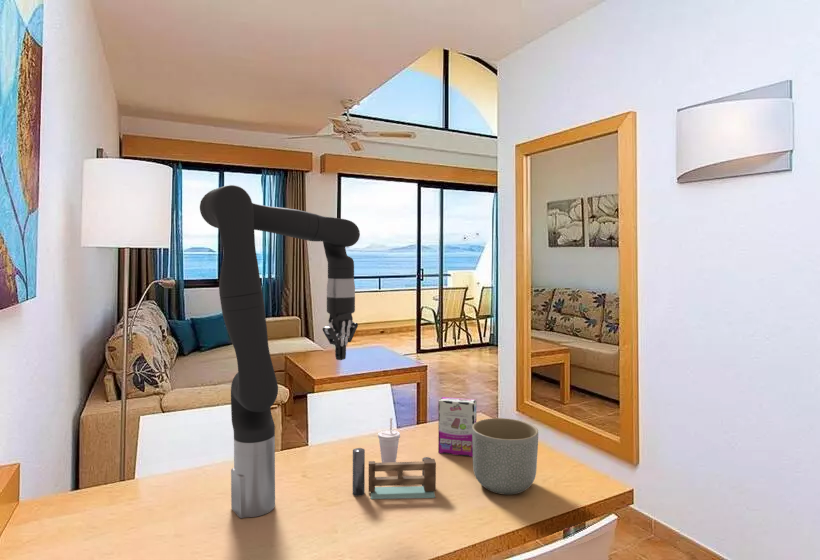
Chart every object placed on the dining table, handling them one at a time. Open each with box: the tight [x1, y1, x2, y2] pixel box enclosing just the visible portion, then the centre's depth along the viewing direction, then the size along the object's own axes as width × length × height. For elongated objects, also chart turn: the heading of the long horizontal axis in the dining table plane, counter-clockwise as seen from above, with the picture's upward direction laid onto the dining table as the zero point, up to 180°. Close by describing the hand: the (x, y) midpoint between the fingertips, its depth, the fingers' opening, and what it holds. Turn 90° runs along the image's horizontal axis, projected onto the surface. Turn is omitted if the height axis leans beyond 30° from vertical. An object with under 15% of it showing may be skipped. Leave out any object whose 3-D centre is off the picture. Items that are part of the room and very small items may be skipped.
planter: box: [472, 417, 539, 496], centre depth 131 cm, size 17×17×15 cm
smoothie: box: [377, 417, 401, 463], centre depth 142 cm, size 6×6×14 cm
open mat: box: [370, 485, 436, 500], centre depth 127 cm, size 16×6×1 cm, turn 93°
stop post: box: [421, 456, 432, 486], centre depth 131 cm, size 2×2×7 cm
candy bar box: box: [437, 396, 478, 458], centre depth 153 cm, size 11×5×16 cm, turn 73°
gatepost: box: [352, 447, 366, 497], centre depth 126 cm, size 3×3×11 cm
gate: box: [368, 458, 437, 493], centre depth 127 cm, size 17×3×7 cm, turn 95°
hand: (340, 359), depth 135 cm, fingers closed
